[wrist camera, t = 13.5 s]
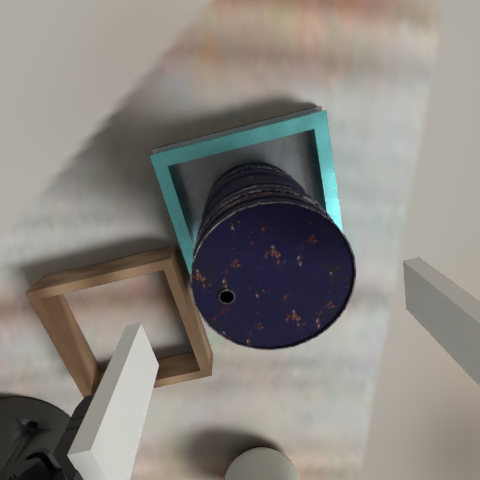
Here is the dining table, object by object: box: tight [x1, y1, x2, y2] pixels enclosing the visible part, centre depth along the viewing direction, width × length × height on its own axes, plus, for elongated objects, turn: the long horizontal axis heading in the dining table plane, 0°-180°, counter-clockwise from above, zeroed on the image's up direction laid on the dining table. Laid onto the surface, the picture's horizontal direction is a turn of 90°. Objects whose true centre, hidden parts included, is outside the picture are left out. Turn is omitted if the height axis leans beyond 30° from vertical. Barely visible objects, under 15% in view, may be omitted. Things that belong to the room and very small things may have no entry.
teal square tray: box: [150, 106, 343, 274], centre depth 32 cm, size 16×16×4 cm
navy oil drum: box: [190, 162, 356, 350], centre depth 26 cm, size 10×10×15 cm
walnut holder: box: [26, 245, 213, 398], centre depth 37 cm, size 15×15×4 cm
